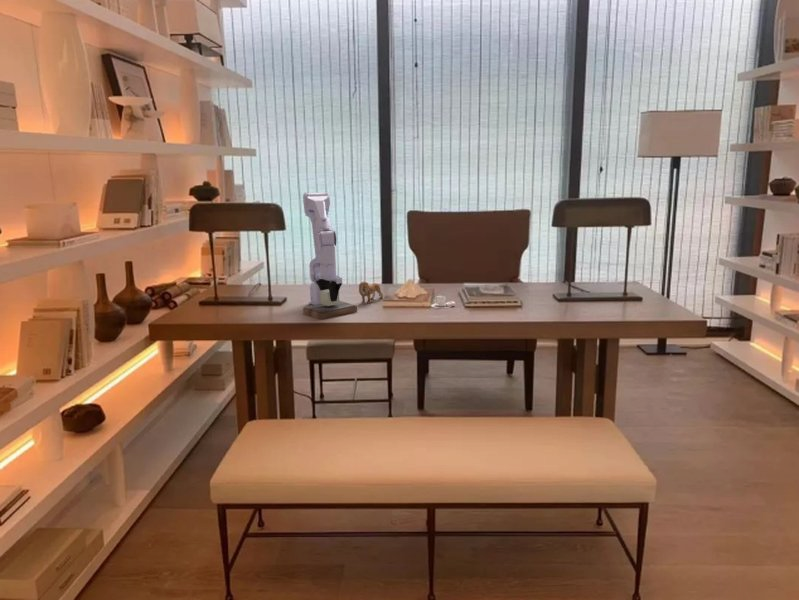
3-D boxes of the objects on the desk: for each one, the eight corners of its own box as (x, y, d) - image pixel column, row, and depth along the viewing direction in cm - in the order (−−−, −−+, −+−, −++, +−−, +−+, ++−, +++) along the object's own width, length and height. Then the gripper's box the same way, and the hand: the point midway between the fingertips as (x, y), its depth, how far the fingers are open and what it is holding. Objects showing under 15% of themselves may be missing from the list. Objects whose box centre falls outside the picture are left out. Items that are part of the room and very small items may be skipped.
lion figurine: (367, 305, 245) (367, 283, 242) (356, 304, 247) (355, 282, 245) (385, 297, 257) (385, 276, 255) (374, 296, 260) (373, 275, 258)
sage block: (320, 303, 235) (320, 290, 234) (331, 301, 238) (331, 288, 237) (328, 305, 231) (327, 292, 230) (339, 303, 234) (338, 290, 233)
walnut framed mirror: (303, 313, 235) (302, 307, 234) (338, 306, 245) (338, 300, 244) (321, 319, 226) (320, 312, 225) (357, 311, 236) (356, 305, 235)
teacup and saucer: (457, 306, 243) (457, 295, 242) (447, 310, 236) (447, 300, 235) (438, 303, 247) (438, 293, 247) (427, 307, 241) (427, 297, 240)
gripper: (308, 262, 234) (309, 298, 237) (329, 267, 223) (331, 304, 226) (323, 260, 238) (325, 295, 241) (346, 265, 227) (347, 301, 230)
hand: (329, 299), depth 234 cm, fingers closed on sage block, 5 cm apart
